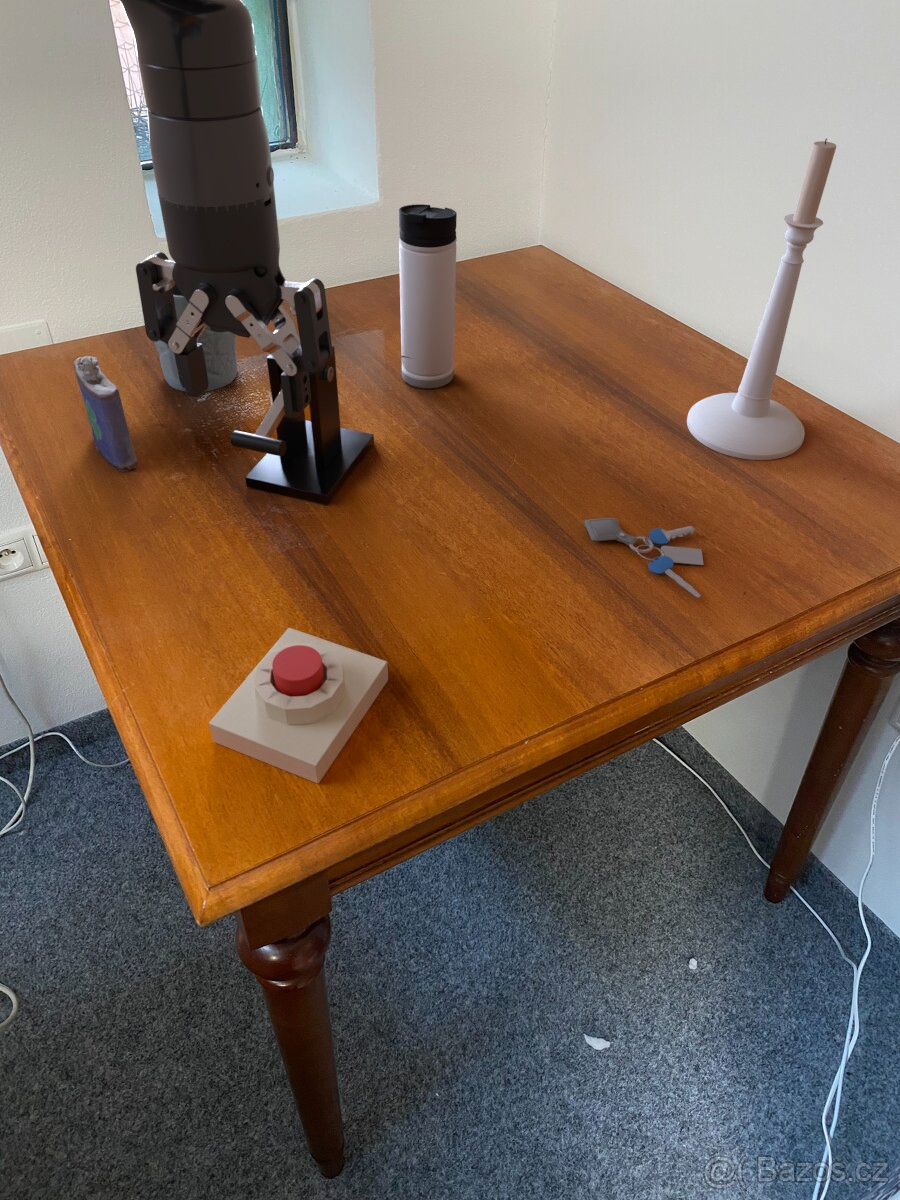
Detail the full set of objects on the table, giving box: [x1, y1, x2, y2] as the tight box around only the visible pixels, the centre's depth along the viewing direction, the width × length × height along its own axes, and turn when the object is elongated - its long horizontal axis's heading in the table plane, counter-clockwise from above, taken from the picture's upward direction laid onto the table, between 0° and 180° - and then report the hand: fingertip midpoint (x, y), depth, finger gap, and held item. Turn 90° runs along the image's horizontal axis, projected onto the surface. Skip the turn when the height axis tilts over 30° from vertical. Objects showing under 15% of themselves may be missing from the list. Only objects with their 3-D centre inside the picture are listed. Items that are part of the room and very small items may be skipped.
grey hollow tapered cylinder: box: [153, 260, 238, 392], centre depth 101 cm, size 10×10×12 cm
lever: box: [229, 389, 287, 457], centre depth 82 cm, size 12×5×2 cm, turn 161°
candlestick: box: [686, 138, 837, 461], centre depth 89 cm, size 13×13×30 cm
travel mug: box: [398, 203, 458, 389], centre depth 99 cm, size 6×7×20 cm
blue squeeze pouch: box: [73, 355, 138, 472], centre depth 89 cm, size 9×3×11 cm, turn 33°
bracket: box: [244, 345, 375, 506], centre depth 88 cm, size 12×9×13 cm
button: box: [272, 645, 324, 697], centre depth 64 cm, size 4×4×2 cm
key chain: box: [583, 517, 705, 599], centre depth 82 cm, size 14×8×1 cm, turn 46°
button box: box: [208, 627, 389, 784], centre depth 66 cm, size 11×9×4 cm
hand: (246, 402), depth 68 cm, fingers open, 8 cm apart
